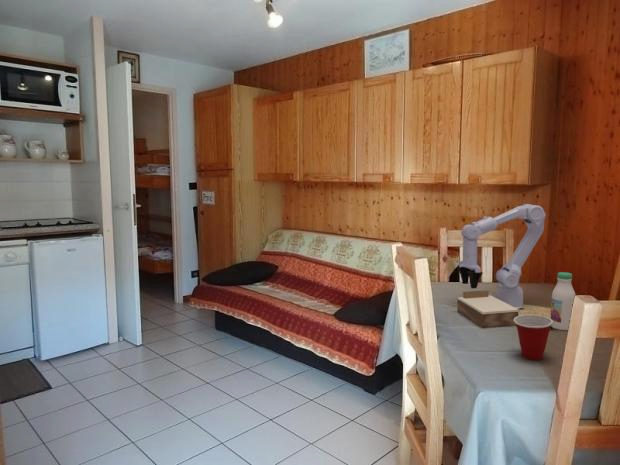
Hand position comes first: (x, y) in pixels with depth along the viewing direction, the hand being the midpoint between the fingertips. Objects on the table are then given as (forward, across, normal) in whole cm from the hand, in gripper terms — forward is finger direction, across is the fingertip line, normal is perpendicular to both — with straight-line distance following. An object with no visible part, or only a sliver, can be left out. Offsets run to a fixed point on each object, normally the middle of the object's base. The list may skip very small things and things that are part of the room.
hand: (469, 285), depth 186 cm
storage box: (+9, +14, 0) cm, 17 cm away
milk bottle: (+10, +29, +21) cm, 37 cm away
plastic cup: (+10, +50, -5) cm, 51 cm away
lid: (+4, +14, 0) cm, 15 cm away
